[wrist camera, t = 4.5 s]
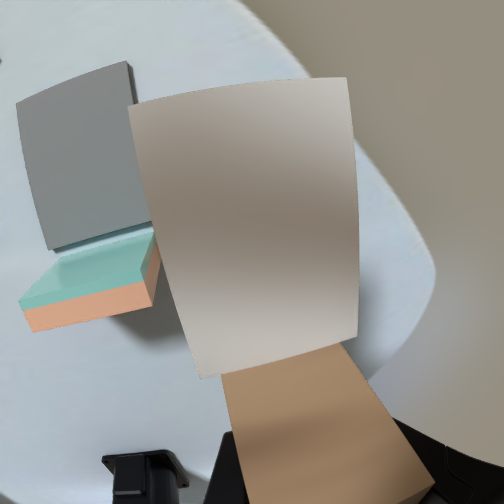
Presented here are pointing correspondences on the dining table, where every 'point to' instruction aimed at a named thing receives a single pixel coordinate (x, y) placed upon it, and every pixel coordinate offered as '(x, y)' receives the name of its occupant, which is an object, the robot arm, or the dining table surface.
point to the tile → (95, 284)
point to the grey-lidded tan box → (274, 282)
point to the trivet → (83, 156)
